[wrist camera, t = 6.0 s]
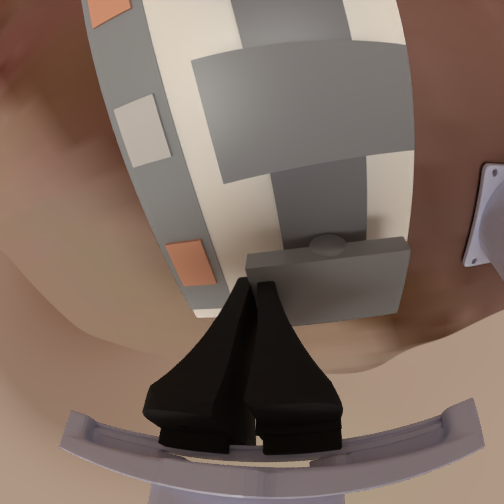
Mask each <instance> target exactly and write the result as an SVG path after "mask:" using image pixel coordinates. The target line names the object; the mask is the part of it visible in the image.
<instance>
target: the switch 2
mask: <svg viewBox="0 0 504 504" xmlns="http://www.w3.org/2000/svg"><path fill="white" fill-rule="evenodd" d="M410 253H411V249H410V247H409V245H408V244H407V242H406V240H405V239H404V237H403V236H400V237H391V238H383V239H374V240H365V241H357V242H348V243H346V241H345V240H344V239H343V238H342V237H340V236H337V235H333V234H325V235H320V236H318V237H316V238H314V239H313V240H312V241H311V242H310V245H309V247H304V248H296V249H287V250H278V251H269V252H261V253H252V254H247V259H246V265H245V271H246V274H247V278H248V281H249V283H250V285H251V288H252V292H253V295H254V299H255V302H256V306H257V283H258V282H266V281H274V282H275V283H276V288H277V292H278V296H279V299H280V301H281V304H282V306H283V309H284V311H285V314H286V316H287V318H288V320H289V322H290V324H291V326H299V325H310V324H319V323H328V322H337V321H345V320H353V319H360V318H367V317H374V316H380V315H386V314H392V313H397V312H398V308H399V304H400V300H401V296H402V292H403V287H404V283H405V278H406V274H407V269H408V264H409V258H410Z"/></svg>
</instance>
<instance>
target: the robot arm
mask: <svg viewBox="0 0 504 504" xmlns="http://www.w3.org/2000/svg"><path fill="white" fill-rule="evenodd" d="M493 170H494V172H493ZM492 173H493V174H492ZM490 262H491V264H492V265H493V266H494V268H495V269H496V271H497V272H498V274H499V275H500V277H501V278H502V280H503V281H504V164H496V163H486V164H485V165H484V166H483V168H482V174H481V182H480V188H479V194H478V200H477V205H476V210H475V215H474V220H473V224H472V228H471V232H470V236H469V240H468V244H467V247H466V251H465V254H464V258H463V264H464V266H465V267H470V266H475V265H480V264H485V263H490ZM342 413H343V407H342V403H341V401H340V398H339V396H338V394H337V392H336V390H335V388H334V387H333V384H332V382H331V381H330V380H329V379H328V378H327V376H326V375H325V374H324V373H323V372H322V371H321V369H320V368H319V367H318V366H317V364H316V363H315V362H314V360H313V359H312V358H311V356H310V355H309V353H308V352H307V351H306V349H305V348H304V346H303V345H302V343H301V341H300V340H299V338H298V337H297V335H296V333H295V331H294V330H293V328H292V326H291V324H290V322H289V320H288V318H287V316H286V314H285V311H284V309H283V306H282V304H281V301H280V299H279V296H278V292H277V288H276V283H275V282H274V281H266V282H258V283H257V306H256V302H255V299H254V295H253V292H252V288H251V285H250V283H249V281H248V278H247V277H239V278H238V279H237V281H236V283H235V285H234V287H233V289H232V291H231V293H230V295H229V297H228V299H227V301H226V302H225V304H224V306H223V308H222V309H221V311H220V313H219V314H218V316H217V317H216V319H215V320H214V322H213V323H212V325H211V326H210V328H209V329H208V331H207V332H206V333H205V335H204V336H203V337H202V338H201V340H200V341H199V342H198V343H197V344H196V346H195V347H194V348H193V349H192V350H191V351H190V352H189V353H188V354H187V355H186V356H185V357H184V358H183V359H182V360H181V361H180V362H179V364H177V365H176V366H175V367H174V368H173V369H172V370H170V371H169V372H168V373H167V374H166V375H164V376H163V377H162V378H160V379H159V380H158V381H156V382H155V383H153V384H152V385H151V386H150V388H149V390H148V393H147V397H146V400H145V405H144V408H143V414H144V416H145V417H146V418H147V419H148V420H150V421H151V422H153V423H154V424H156V425H157V426H158V427H160V428H161V431H160V436H159V437H157V436H151V435H147V434H141V433H137V432H132V431H128V430H124V429H120V428H117V427H113V426H109V425H106V424H102V423H99V422H96V421H95V420H94V419H92V418H91V417H89V416H87V415H84V414H82V413H79V412H76V411H73V410H71V412H70V414H69V418H68V421H67V423H66V427H65V430H64V433H63V436H62V439H61V443H60V448H61V449H63V450H65V451H67V452H69V453H71V454H73V455H76V456H78V457H80V458H82V459H84V460H87V461H89V462H91V463H94V464H96V465H99V466H101V467H103V468H106V469H109V470H112V471H114V472H117V473H120V474H123V475H126V476H129V477H132V478H135V479H139V480H142V481H146V482H149V483H152V484H151V490H150V496H149V503H148V504H345V503H344V502H345V501H344V494H347V493H353V492H358V491H364V490H369V489H373V488H377V487H382V486H386V485H390V484H393V483H397V482H401V481H404V480H408V479H411V478H414V477H417V476H420V475H423V474H426V473H429V472H431V471H434V470H436V469H439V468H441V467H444V466H447V465H449V464H451V463H454V462H456V461H458V460H460V459H463V458H464V457H467V456H469V455H471V454H473V453H475V452H477V451H479V450H481V449H482V448H484V447H485V444H484V439H483V435H482V430H481V426H480V421H479V418H478V414H477V410H476V407H475V403H474V400H473V398H470V399H468V400H466V401H463V402H461V403H459V404H456V405H453V406H451V407H449V408H447V409H446V410H445V411H444V412H443V413H442V414H441V415H439V416H436V417H433V418H430V419H427V420H424V421H421V422H417V423H414V424H411V425H407V426H403V427H400V428H396V429H393V430H388V431H384V432H379V433H375V434H370V435H365V436H359V437H354V438H348V439H342V436H341V429H342V427H341V416H342ZM255 419H256V430H255ZM256 436H259V437H260V438H261V439H262V440H263V446H256ZM173 454H175V455H173ZM177 455H181V456H188V457H196V458H203V459H212V460H223V461H240V462H288V461H305V460H313V461H311V462H310V467H303V468H302V467H301V468H271V467H247V466H232V465H219V464H208V463H198V462H191V461H189V460H187V459H186V458H184V457H181V456H177ZM347 455H348V456H347ZM316 459H318V460H316Z"/></svg>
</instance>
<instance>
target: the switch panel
mask: <svg viewBox="0 0 504 504" xmlns="http://www.w3.org/2000/svg"><path fill="white" fill-rule="evenodd" d="M81 1H82V7H83V13H84V19H85V24H86V29H87V34H88V39H89V44H90V48H91V52H92V57H93V61H94V65H95V69H96V73H97V76H98V80H99V84H100V87H101V91H102V95H103V98H104V101H105V105H106V108H107V111H108V114H109V118H110V121H111V124H112V127H113V130H114V133H115V136H116V139H117V142H118V145H119V148H120V150H121V153H122V156H123V159H124V162H125V164H126V167H127V170H128V172H129V175H130V178H131V180H132V183H133V185H134V188H135V190H136V193H137V195H138V198H139V200H140V203H141V205H142V208H143V210H144V212H145V215H146V217H147V219H148V222H149V224H150V226H151V229H152V231H153V233H154V235H155V238H156V240H157V242H158V244H159V246H160V249H161V251H162V253H163V255H164V257H165V259H166V261H167V264H168V266H169V268H170V270H171V272H172V274H173V276H174V278H175V280H176V282H177V284H178V286H179V288H180V290H181V292H182V294H183V296H184V298H185V300H186V302H187V304H188V306H189V308H190V310H193V311H194V313H195V315H196V317H197V318H206V317H217V316H218V314H219V313H220V311H221V309H222V308H223V306H224V304H225V302H226V301H227V299H228V297H229V295H230V293H231V291H232V289H233V287H234V285H235V283H236V281H237V279H238V278H239V277H247V274H246V271H245V265H246V259H247V254H252V253H261V252H269V251H278V250H287V249H296V248H304V247H309V245H310V242H311V241H312V240H313V239H314V238H316V237H318V236H320V235H325V234H333V235H337V236H340V237H342V238H343V239H344V240H345V241H346V243H348V242H357V241H365V240H374V239H383V238H391V237H400V236H403V237H404V239H405V240H406V242H407V238H408V231H409V223H410V214H411V203H412V191H413V174H414V150H410V151H401V152H392V153H384V154H377V155H369V156H362V157H355V158H349V159H343V160H337V161H331V162H325V163H319V164H314V165H308V166H303V167H298V168H293V169H288V170H283V171H278V172H274V173H269V174H265V175H260V176H256V177H251V178H247V179H243V180H239V181H235V182H231V183H227V184H223V180H222V177H221V173H220V169H219V166H218V162H217V158H216V155H215V151H214V147H213V144H212V140H211V136H210V132H209V129H208V125H207V121H206V117H205V114H204V110H203V106H202V102H201V98H200V95H199V91H198V87H197V83H196V79H195V75H194V72H193V68H192V64H191V60H194V59H198V58H202V57H206V56H210V55H214V54H218V53H223V52H228V51H233V50H238V49H243V48H249V47H255V46H262V45H269V44H277V43H287V42H299V41H316V40H358V41H375V42H386V43H396V44H403V45H406V43H405V38H404V33H403V28H402V23H401V19H400V15H399V11H398V7H397V3H396V0H81Z"/></svg>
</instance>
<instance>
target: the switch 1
mask: <svg viewBox="0 0 504 504" xmlns="http://www.w3.org/2000/svg"><path fill="white" fill-rule="evenodd" d="M191 64H192V68H193V72H194V75H195V79H196V83H197V87H198V91H199V95H200V98H201V102H202V106H203V110H204V114H205V117H206V121H207V125H208V129H209V132H210V136H211V140H212V144H213V147H214V151H215V155H216V158H217V162H218V166H219V169H220V173H221V177H222V180H223V184H227V183H231V182H235V181H239V180H243V179H247V178H251V177H256V176H260V175H265V174H269V173H274V172H278V171H283V170H288V169H293V168H298V167H303V166H308V165H314V164H319V163H325V162H331V161H337V160H343V159H349V158H355V157H362V156H369V155H377V154H384V153H392V152H401V151H410V150H415V139H414V109H413V94H412V84H411V74H410V67H409V59H408V53H407V47H406V45H403V44H396V43H386V42H375V41H358V40H316V41H299V42H287V43H277V44H269V45H262V46H255V47H249V48H243V49H238V50H233V51H228V52H223V53H218V54H214V55H210V56H206V57H202V58H198V59H194V60H191Z"/></svg>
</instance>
